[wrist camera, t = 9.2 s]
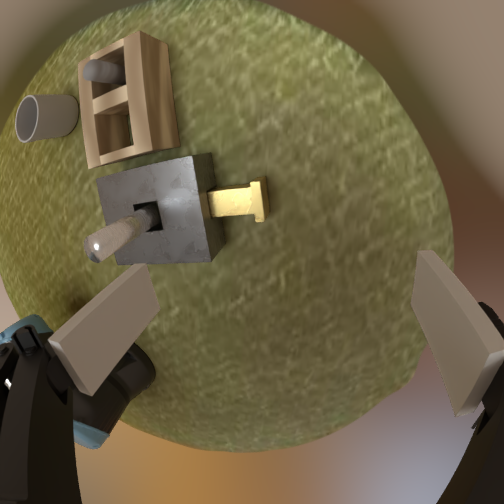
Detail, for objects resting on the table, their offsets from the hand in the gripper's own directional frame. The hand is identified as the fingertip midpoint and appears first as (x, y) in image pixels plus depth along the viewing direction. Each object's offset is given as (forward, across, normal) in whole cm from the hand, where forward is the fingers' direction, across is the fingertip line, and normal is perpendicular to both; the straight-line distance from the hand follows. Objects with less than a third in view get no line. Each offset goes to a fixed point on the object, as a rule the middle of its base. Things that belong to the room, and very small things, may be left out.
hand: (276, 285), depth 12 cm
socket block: (+23, -17, 0) cm, 28 cm away
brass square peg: (+22, -9, 0) cm, 24 cm away
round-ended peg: (+23, -17, 0) cm, 28 cm away
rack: (+23, -19, +15) cm, 33 cm away
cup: (+23, -36, +18) cm, 46 cm away
